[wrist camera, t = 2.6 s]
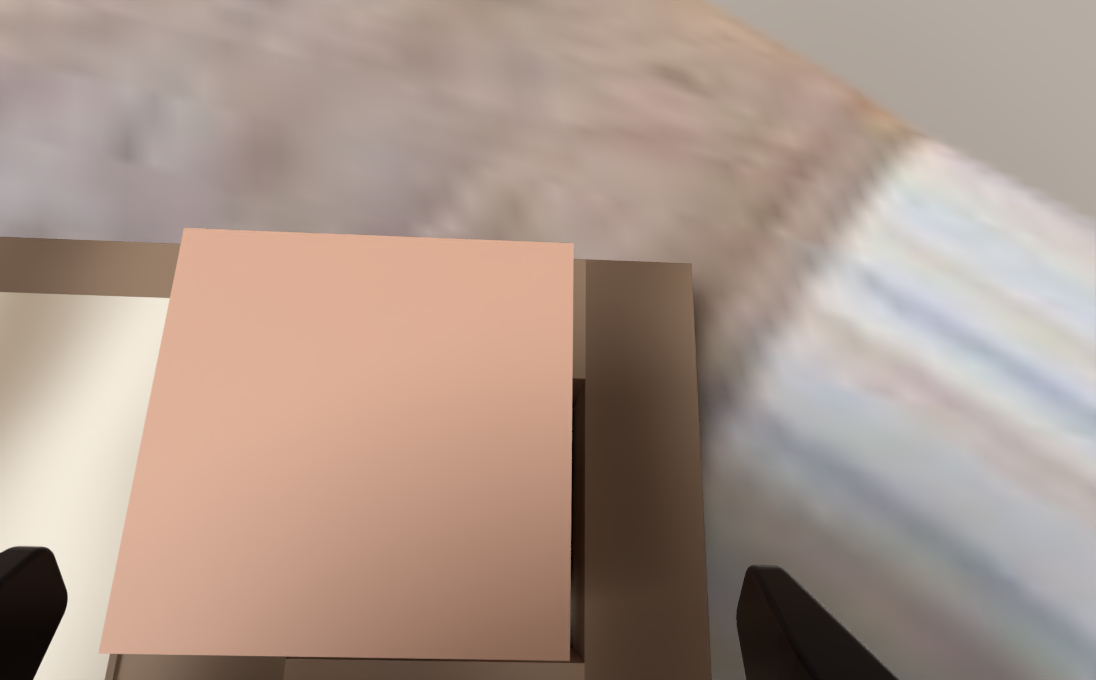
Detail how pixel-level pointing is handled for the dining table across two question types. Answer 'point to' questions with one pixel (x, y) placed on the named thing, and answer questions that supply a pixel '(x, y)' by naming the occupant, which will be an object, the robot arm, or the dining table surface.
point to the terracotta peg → (354, 453)
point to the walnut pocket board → (590, 676)
